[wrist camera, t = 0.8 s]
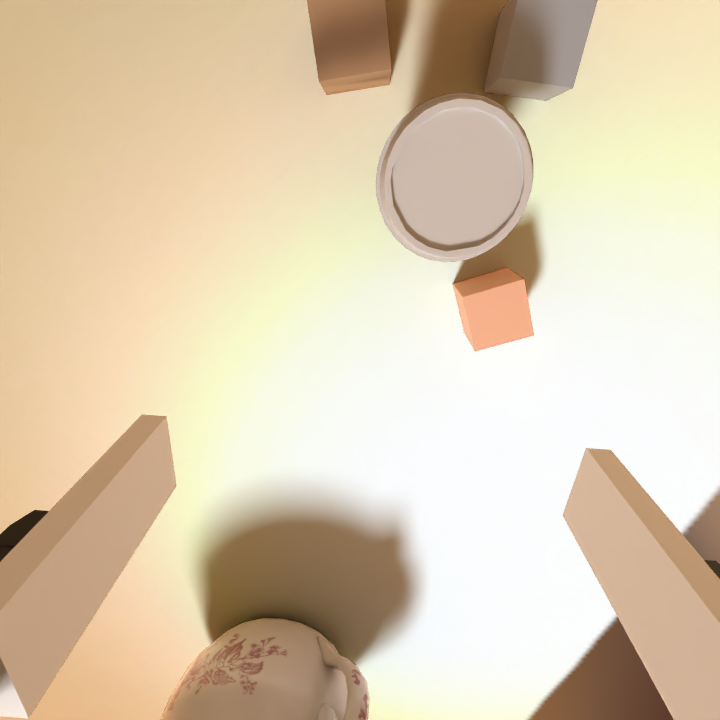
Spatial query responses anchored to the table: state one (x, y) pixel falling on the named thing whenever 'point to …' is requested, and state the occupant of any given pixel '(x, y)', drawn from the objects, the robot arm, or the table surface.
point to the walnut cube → (350, 44)
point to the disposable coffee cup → (454, 177)
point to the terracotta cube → (494, 308)
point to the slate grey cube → (538, 47)
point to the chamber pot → (270, 677)
